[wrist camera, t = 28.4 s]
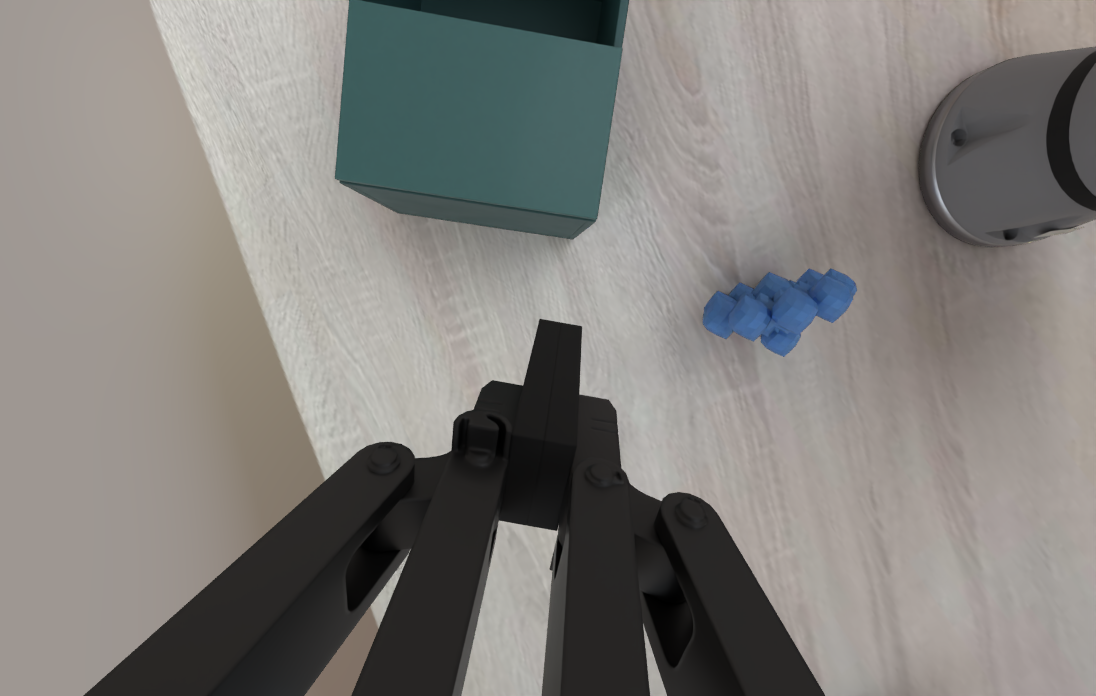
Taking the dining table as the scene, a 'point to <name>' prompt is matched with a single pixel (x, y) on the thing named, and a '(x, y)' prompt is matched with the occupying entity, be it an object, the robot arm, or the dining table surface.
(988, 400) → the dining table surface
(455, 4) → the carton
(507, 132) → the flap
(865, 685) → the dining table surface
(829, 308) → the blue knobby cluster
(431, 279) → the dining table surface
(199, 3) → the dining table surface
